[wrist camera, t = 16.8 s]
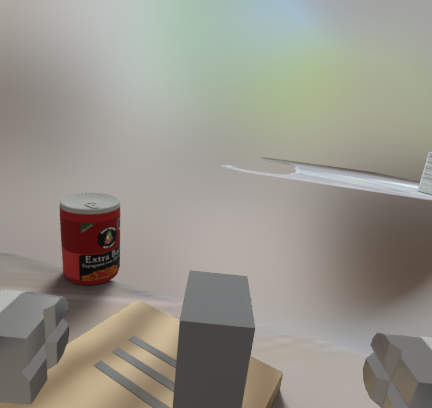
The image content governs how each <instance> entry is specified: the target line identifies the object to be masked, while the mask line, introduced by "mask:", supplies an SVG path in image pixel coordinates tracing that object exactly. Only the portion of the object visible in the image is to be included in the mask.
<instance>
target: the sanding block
mask: <svg viewBox="0 0 432 408" xmlns="http://www.w3.org/2000/svg"><path fill="white" fill-rule="evenodd" d="M254 331H255V325H254V318H253V312H252V305H251V298H250V292H249V286H248V279H247V276H238V275H228V274H218V273H209V272H199V271H190V272H189V278H188V282H187V287H186V292H185V297H184V302H183V307H182V312H181V317H180V324H179V336H178V348H177V360H176V372H175V384H174V397H173V408H242V403H243V397H244V391H245V385H246V379H247V373H248V367H249V361H250V355H251V349H252V343H253V337H254Z"/></svg>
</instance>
